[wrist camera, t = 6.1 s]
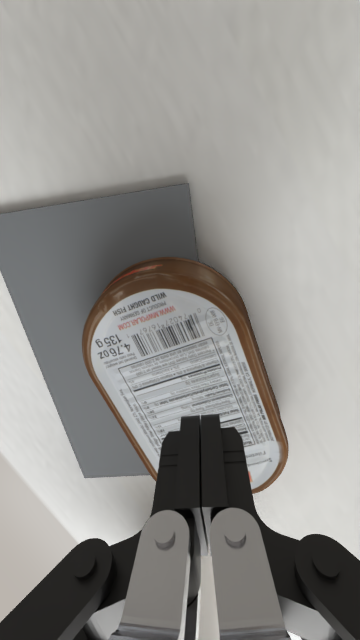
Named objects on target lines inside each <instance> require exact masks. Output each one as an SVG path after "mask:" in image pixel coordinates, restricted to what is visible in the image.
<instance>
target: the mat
mask: <svg viewBox="0 0 360 640" xmlns="http://www.w3.org/2000/svg"><path fill="white" fill-rule="evenodd" d="M159 257H178V258H184V259H190V260H193V261H197V262H198V258H197V249H196V241H195V233H194V225H193V216H192V208H191V200H190V192H189V183H187V184H181V185H174V186H168V187H162V188H156V189H150V190H144V191H138V192H132V193H126V194H119V195H113V196H107V197H101V198H95V199H89V200H83V201H77V202H71V203H65V204H58V205H52V206H46V207H40V208H34V209H28V210H22V211H16V212H10V213H3V214H0V271H1V273H2V276H3V278H4V281H5V283H6V286H7V288H8V291H9V293H10V295H11V298H12V300H13V303H14V305H15V308H16V310H17V313H18V315H19V318H20V320H21V323H22V325H23V328H24V330H25V332H26V335H27V337H28V340H29V342H30V345H31V347H32V350H33V352H34V355H35V357H36V360H37V362H38V365H39V367H40V369H41V372H42V374H43V377H44V379H45V382H46V384H47V387H48V389H49V392H50V394H51V397H52V399H53V402H54V404H55V406H56V409H57V411H58V414H59V416H60V419H61V421H62V424H63V426H64V429H65V431H66V434H67V436H68V438H69V441H70V443H71V446H72V448H73V451H74V453H75V456H76V458H77V461H78V463H79V466H80V468H81V471H82V473H83V475H84V478H97V477H117V476H138V475H150V473H149V472H148V470H147V469H146V467H145V466H144V464H143V462H142V461H141V459H140V457H139V456H138V454H137V452H136V451H135V449H134V448H133V446H132V444H131V443H130V441H129V440H128V438H127V436H126V435H125V433H124V431H123V430H122V428H121V426H120V425H119V423H118V421H117V420H116V418H115V417H114V415H113V413H112V412H111V410H110V408H109V407H108V405H107V404H106V402H105V400H104V399H103V397H102V395H101V394H100V392H99V391H98V389H97V387H96V386H95V384H94V383H93V381H92V379H91V378H90V376H89V374H88V371H87V369H86V366H85V363H84V359H83V354H82V335H83V329H84V325H85V322H86V319H87V317H88V315H89V312H90V310H91V309H92V307H93V305H94V304H95V302H96V301H97V300H98V298H99V297H100V296H101V294H102V292H103V291H104V289H105V288H106V286H107V285H108V284H109V283H110V281H111V280H112V279H113V278H114V277H115V276H117V275H118V274H119V273H120V272H122V271H123V270H125V269H126V268H128V267H130V266H131V265H134V264H136V263H138V262H141V261H144V260H148V259H152V258H159Z"/></svg>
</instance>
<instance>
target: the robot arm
mask: <svg viewBox="0 0 360 640" xmlns="http://www.w3.org/2000/svg"><path fill="white" fill-rule="evenodd" d="M208 544H209V550H210V555H211V556H212V565H213V575H214V585H215V595H216V604H217V614H218V624H219V635H220V640H291V638H290V636H289V634H288V633H287V631H289V632H291V633H294V634H296V635H298V636H300V637H301V639H302V640H360V561H359V560H358V559H357V558H356V557H355V556H354V555H352V554H351V553H350V552H349V551H348V550H347V549H346V548H344V547H343V546H342V545H341V544H340V543H338V542H337V541H335V540H334V539H332V538H330V537H328V536H325V535H321V534H311V535H307V536H305V537H304V538H302V539H301V540H300V541H299V540H296V539H293V538H290V537H287V536H284V535H281V534H279V533H277V532H275V531H273V530H271V529H270V528H269V527H267V526H266V525H265V524H264V523H263V521H262V520H261V519H260V517H259V516H258V514H257V512H256V509H255V506H254V501H253V495H252V490H251V484H250V478H249V473H248V467H247V462H246V456H245V451H244V445H243V440H242V437H241V435H240V434H239V432H238V431H237V430H236V428H235V427H227V428H221V424H220V416H219V414H208V415H201V419H200V415H196V416H182V417H181V423H180V431H169V432H168V434H167V435H166V437H165V438H164V440H163V442H162V446H161V453H160V460H159V468H158V474H157V481H156V487H155V494H154V501H153V508H152V513H151V516H150V518H149V519H148V521H147V522H146V523H145V525H144V527H143V529H142V530H141V531H140V532H138V533H137V534H136V535H134V536H133V537H131V538H129V539H126V540H124V541H121V542H119V543H116V544H114V545H111V546H108V544H107V543H106V542H105V541H103V540H101V539H98V538H92V539H88V540H85V541H83V542H81V543H80V544H78V545H77V546H76V547H75V548H74V549H72V550H71V552H69V554H67V555H66V556H65V558H64V559H63V560H62V561H61V562H60V563H59V564H58V565H57V566H56V567H55V568H54V569H53V570H52V571H51V572H50V573H49V574H48V575H47V576H46V577H45V578H44V579H43V580H42V581H41V582H40V583H39V584H38V585H37V586H36V587H35V588H34V589H33V590H32V591H31V592H30V593H29V594H28V595H27V596H26V597H25V598H24V599H23V600H22V601H21V602H20V603H19V604H18V605H17V606H16V607H15V608H14V609H13V611H11V612H10V613H9V614H8V615H7V616H6V617H5V618H4V619H3V620H2V621H1V623H0V640H198V635H199V616H200V596H201V556H208Z"/></svg>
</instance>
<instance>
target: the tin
mask: <svg viewBox="0 0 360 640" xmlns="http://www.w3.org/2000/svg"><path fill="white" fill-rule="evenodd" d="M82 354H83V359H84V363H85V366H86V369H87V371H88V374H89V376H90V378H91V379H92V381H93V383H94V384H95V386H96V387H97V389H98V391H99V392H100V394H101V395H102V397H103V399H104V400H105V402H106V404H107V405H108V407H109V408H110V410H111V412H112V413H113V415H114V417H115V418H116V420H117V421H118V423H119V425H120V426H121V428H122V430H123V431H124V433H125V435H126V436H127V438H128V440H129V441H130V443H131V444H132V446H133V448H134V449H135V451H136V452H137V454H138V456H139V457H140V459H141V461H142V462H143V464H144V466H145V467H146V469H147V470H148V472H149V473H150V475H151V476H152V477H153V479H154V480H155V481H157V474H158V468H159V460H160V453H161V446H162V442H163V440H164V438H165V437H166V435H167V434H168V432H169V431H180V423H181V417H182V416H196V415H200V419H201V415H208V414H219V416H220V424H221V428H227V427H235V428H236V430H237V431H238V432H239V434H240V435H241V437H242V440H243V445H244V451H245V456H246V462H247V467H248V473H249V478H250V484H251V490H252V494H253V493H257V492H260V491H262V490H264V489H266V488H267V487H269V486H270V485H271V484H272V483H273V482H274V481H275V480H276V479H277V478H278V476H279V475H280V474H281V473H282V471H283V469H284V467H285V465H286V461H287V458H288V440H287V436H286V433H285V429H284V426H283V424H282V421H281V418H280V412H279V408H278V405H277V402H276V399H275V396H274V393H273V390H272V387H271V385H270V382H269V378H268V376H267V373H266V370H265V367H264V364H263V361H262V358H261V355H260V352H259V348H258V345H257V342H256V339H255V336H254V333H253V330H252V326H251V323H250V320H249V317H248V313H247V310H246V307H245V305H244V302H243V300H242V298H241V296H240V295H239V293H238V292H237V290H236V289H235V288H234V287H233V285H232V284H231V283H230V282H229V281H228V280H227V279H226V278H225V277H224V276H222V275H221V274H220V273H218V272H217V271H215V270H214V269H212V268H210V267H208V266H206V265H204V264H202V263H200V262H197V261H193V260H190V259H184V258H178V257H159V258H152V259H148V260H144V261H141V262H138V263H136V264H134V265H131V266H130V267H128V268H126V269H125V270H123V271H122V272H120V273H119V274H118V275H117V276H115V277H114V278H113V279H112V280H111V281H110V283H109V284H108V285H107V286H106V288H105V289H104V291H103V292H102V294H101V296H100V297H99V298H98V300H97V301H96V302H95V304H94V305H93V307H92V309H91V310H90V312H89V315H88V317H87V319H86V322H85V325H84V329H83V335H82Z"/></svg>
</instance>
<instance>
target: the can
mask: <svg viewBox="0 0 360 640" xmlns="http://www.w3.org/2000/svg"><path fill="white" fill-rule="evenodd" d="M198 640H220V635H219V624H218V614H217V604H216V595H215V585H214V575H213V565H212V556H211V555H210V550H209V544H208V556H201V596H200V616H199V635H198Z"/></svg>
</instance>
